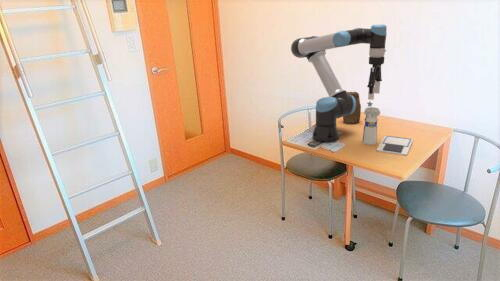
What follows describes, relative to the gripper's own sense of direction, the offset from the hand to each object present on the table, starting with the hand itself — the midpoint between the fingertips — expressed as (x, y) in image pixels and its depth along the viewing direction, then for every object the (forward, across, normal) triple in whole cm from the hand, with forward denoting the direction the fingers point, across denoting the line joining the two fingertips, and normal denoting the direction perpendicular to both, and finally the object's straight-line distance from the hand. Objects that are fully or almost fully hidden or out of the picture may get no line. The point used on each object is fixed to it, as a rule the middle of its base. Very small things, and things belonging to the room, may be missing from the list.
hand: (373, 96), depth 192 cm
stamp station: (+27, 0, -13) cm, 30 cm away
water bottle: (+27, 0, 0) cm, 27 cm away
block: (+27, +30, +19) cm, 45 cm away
